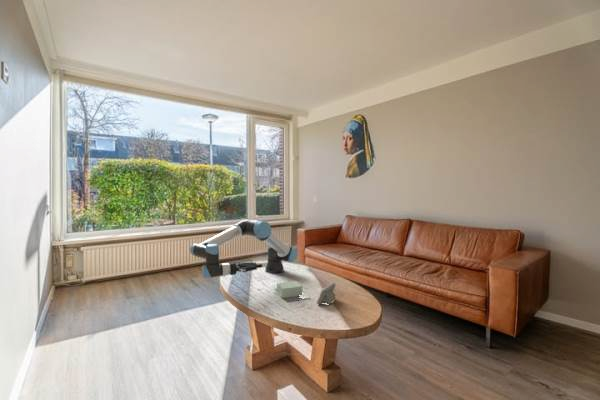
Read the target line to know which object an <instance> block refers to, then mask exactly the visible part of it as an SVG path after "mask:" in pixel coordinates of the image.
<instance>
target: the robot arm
mask: <svg viewBox="0 0 600 400" xmlns="http://www.w3.org/2000/svg"><path fill="white" fill-rule="evenodd" d="M271 227H272V226H271V224H270V223H269V222H268V221H266V220H262V219H261V220H259V219H254V218H253V219H252V218H246V219H243V220H240V221H239V222H236V223H234V224H232V227H230V228H228V229H226V230H223V231H222V232H220V233H218V234H216V235H214V236H212V237H210V238H209V239H208V238H207V239H206V240H204V241H202V242H201V243H193V244H192V245H191V246H190V248H189V252H190V254H191V255H192V256H194V257H197V258H201V259H205V264H202V267H201V275H202V278H204V279H211V278H217V277H226V276H229V275H230V276H234V275H236V274H237V273H239V272H240V273H243V274H245V273H246V272H251V271H255V270H258V269H262V268H265V269H264V271H265V272H266V273H269V274H279V273H282V272H284V269H285V268H284V265H283V261H285V262H288V263H294V262H296V260H297V258H298V252H299V251H298V248H296V247H294V246H291V245H290V244H288V243H287V242H284V241H282V239H280V238H279V237H278V236H277V235H276V234H274V233H273V232H272V228H271ZM242 236H251V237H255V238H256V239H257V240H259V241H260V242H265V244H266V245H268V247H267V262H264V261H263V262H256V261H254V262H238V263H236V262H235V261H231V262H221V263H220V247H221V246H223V245H225V244H226V243H229V242H230V241H232V240H234V239H235V238H237V237H238V238H241V237H242Z"/></svg>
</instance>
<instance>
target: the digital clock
mask: <svg viewBox="0 0 600 400" xmlns="http://www.w3.org/2000/svg"><path fill="white" fill-rule="evenodd" d="M335 288H336V283H335V282H331V283H330V284H328V285H327V286H325V287H324V288H322V289H321V291H320V294H319V297H318V299H317V301H316V305H317V304H321V303H327V304H330V303H331V302H332V301H333V300H334V299H335V300H336V294H335V293H334V291H335ZM321 305H322V304H321Z"/></svg>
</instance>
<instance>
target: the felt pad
mask: <svg viewBox="0 0 600 400" xmlns="http://www.w3.org/2000/svg"><path fill="white" fill-rule="evenodd" d="M274 290H275V291H276V292H277V288H275V289H274ZM302 292H304V291H303V290H302ZM299 297H300V296H292V297H286V298H283V300H284V301H285V302H286V301H287V302H286V303H290V301H292V302H296V300H298V301H301V300H300V299H302V298H299Z"/></svg>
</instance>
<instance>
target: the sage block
mask: <svg viewBox="0 0 600 400" xmlns="http://www.w3.org/2000/svg"><path fill="white" fill-rule="evenodd" d="M276 289H277V291H276V293H277V294H278V295H279V296H280V298H281V299H284V298H286V297H292V296H299V295H302V291H303V285H302V284H300V282H299V281H297V280H294V281H286V282H278V283H276Z"/></svg>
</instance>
